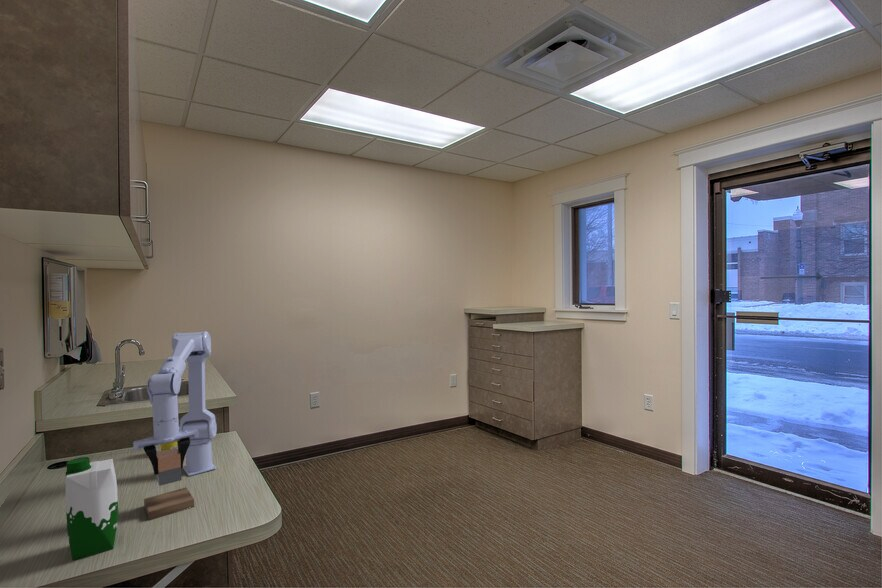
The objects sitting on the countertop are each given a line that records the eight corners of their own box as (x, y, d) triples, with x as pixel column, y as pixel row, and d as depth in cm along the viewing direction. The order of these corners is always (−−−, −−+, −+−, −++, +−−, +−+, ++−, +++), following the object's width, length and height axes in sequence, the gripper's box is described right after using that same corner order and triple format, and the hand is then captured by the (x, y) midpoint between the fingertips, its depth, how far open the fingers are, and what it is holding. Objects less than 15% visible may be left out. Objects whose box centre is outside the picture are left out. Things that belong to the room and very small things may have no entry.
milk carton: (71, 545, 103) (66, 457, 103) (120, 532, 108) (116, 448, 108) (66, 564, 95) (61, 469, 95) (119, 549, 101) (114, 458, 100)
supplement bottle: (165, 450, 166) (163, 419, 166) (184, 448, 167) (182, 417, 167) (158, 456, 160) (156, 424, 160) (177, 454, 161) (175, 422, 161)
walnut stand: (144, 506, 121) (143, 498, 121) (186, 494, 127) (186, 487, 127) (149, 520, 113) (149, 512, 113) (194, 506, 120) (193, 499, 120)
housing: (159, 485, 117) (157, 458, 117) (156, 478, 121) (155, 452, 121) (181, 480, 120) (180, 453, 120) (177, 473, 124) (176, 448, 124)
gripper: (134, 428, 113) (136, 483, 113) (199, 416, 122) (201, 467, 122) (131, 422, 118) (134, 474, 118) (194, 411, 127) (196, 460, 127)
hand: (168, 470), depth 120 cm, fingers closed on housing, 5 cm apart
